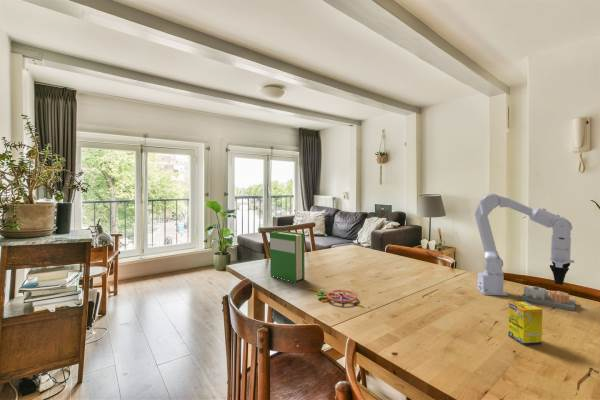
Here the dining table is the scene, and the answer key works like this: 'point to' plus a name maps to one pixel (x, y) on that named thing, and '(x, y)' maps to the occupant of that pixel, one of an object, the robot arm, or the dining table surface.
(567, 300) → the loose gear
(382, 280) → the dining table surface
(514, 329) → the supplement box
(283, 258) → the hardback book
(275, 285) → the dining table surface
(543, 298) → the gear board
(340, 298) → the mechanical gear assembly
